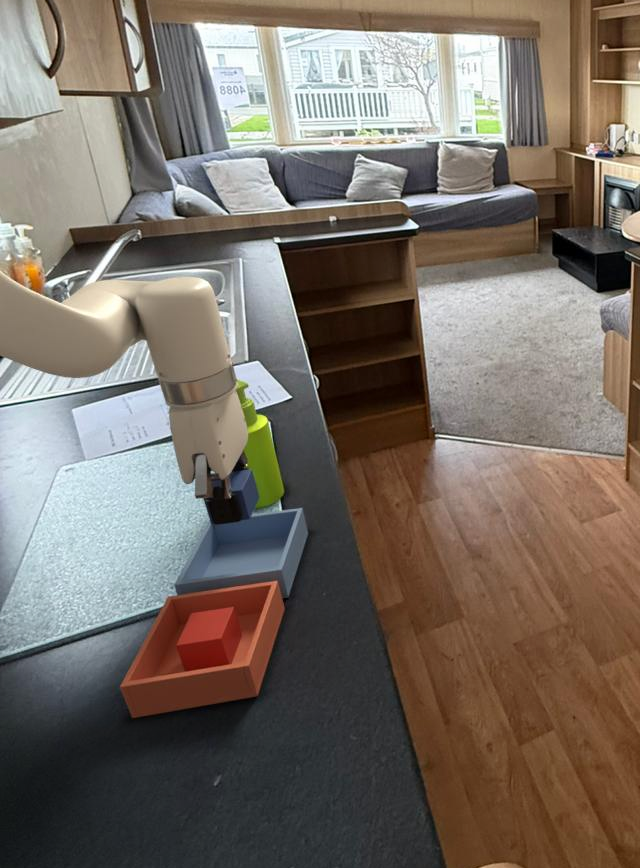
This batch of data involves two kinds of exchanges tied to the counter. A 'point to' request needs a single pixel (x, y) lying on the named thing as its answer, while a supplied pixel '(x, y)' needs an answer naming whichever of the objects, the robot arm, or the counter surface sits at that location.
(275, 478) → the soap dispenser
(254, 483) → the blue block
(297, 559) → the blue bin
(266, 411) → the counter surface
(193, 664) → the red block
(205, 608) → the red bin
